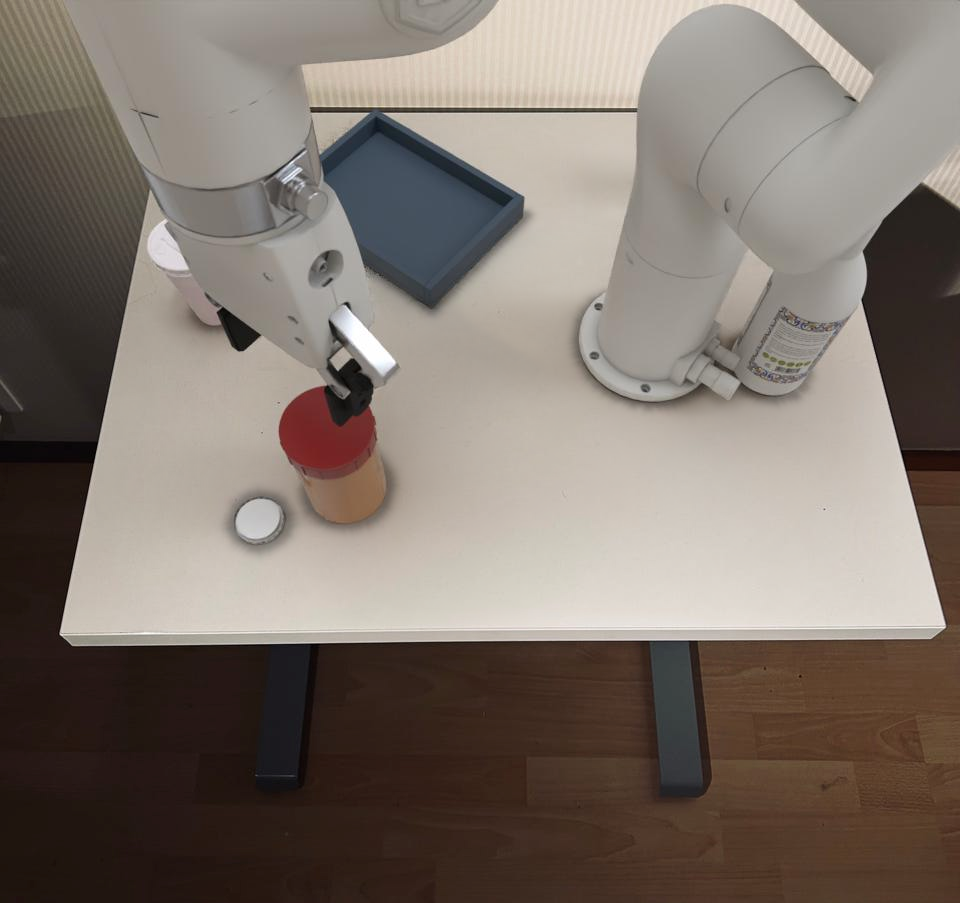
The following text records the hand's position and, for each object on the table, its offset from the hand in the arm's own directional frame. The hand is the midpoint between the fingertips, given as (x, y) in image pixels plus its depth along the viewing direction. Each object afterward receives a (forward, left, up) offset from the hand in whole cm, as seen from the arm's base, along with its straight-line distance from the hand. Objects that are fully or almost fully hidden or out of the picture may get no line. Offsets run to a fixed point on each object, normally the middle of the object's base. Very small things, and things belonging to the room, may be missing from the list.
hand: (302, 370), depth 51 cm
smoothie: (+22, -6, -19) cm, 30 cm away
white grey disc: (+3, +6, -19) cm, 20 cm away
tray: (+16, -26, -19) cm, 36 cm away
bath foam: (-22, -33, -19) cm, 44 cm away
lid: (0, 0, -8) cm, 8 cm away
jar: (0, 0, -19) cm, 19 cm away
